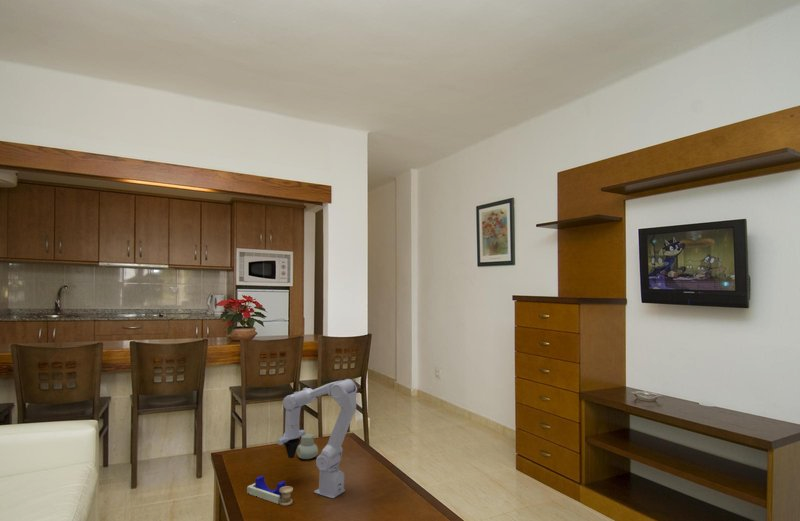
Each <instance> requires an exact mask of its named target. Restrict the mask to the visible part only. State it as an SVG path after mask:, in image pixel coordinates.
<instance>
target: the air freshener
mask: <svg viewBox="0 0 800 521" xmlns="http://www.w3.org/2000/svg"><path fill="white" fill-rule="evenodd" d="M300 437H301V439H300V443H299V445H298V447H297V449H296V455H297V457H298V458H300V459H302V460H311V459H313V458H315V457H317V455H319V448H318V445H317V444H316V443H315V435H314V434H312V433H305V435H304V436H303V435H302V436H300Z"/></svg>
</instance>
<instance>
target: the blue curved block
mask: <svg viewBox="0 0 800 521" xmlns="http://www.w3.org/2000/svg"><path fill="white" fill-rule="evenodd" d="M254 481H255V482H254V483H255V487H256V488H259V489H262V490H265V491H268V492H271V493H274V494H277V495H280V496H281V497H280V499H282V493H280V488H281V487H284V486H286V481H285V480H281V481H279V482H278V483H277V484H276V488H275V489H271V488H269V487H268V485H267V484H266V482H265V476H264V475H259V476H257V477H256V478H255V480H254Z"/></svg>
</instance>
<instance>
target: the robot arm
mask: <svg viewBox="0 0 800 521" xmlns="http://www.w3.org/2000/svg"><path fill="white" fill-rule="evenodd" d="M357 392H358V387H357V385H356V383H355V381H354V380H353V379H350V378H345V379H344V380H337V381H332V382H329V383H326V384H323V385H322V386H319V387H317V388H314V389H312V388H311V387H309V388H308V387H304V388H302V390H300V391H294V392H293V393H292V394H289V395H286V396H285V397H284V398H283V401H282V406H283V408H284V409H285V415H284V416H285V419H284V420H285V421H284V423H285V424H284V425H285V426H284V433H283V434H282V436H281V437H279V438H278V439H277V445H279V446H282V445H283V446H284V447H285V449H286V453H287V458H288V459H294V458H295V455H296V453H297V450H296V449H297V447H298V446H299V445H300V444H301V439H300V437H301V436H302V435H303V436H304V435H305V434H306V429H300V416H301V415H300V414H301V408H302V406H305V405H308V404H311V403H313V402H314V401H315V399H316V398H318V397H320V396H323V395H327V394H328V396H330V397H331V396H332V399H333V400H334V401H335V402H336V403H337V405H338V406H339V407H340V411H339V413H338V415H337V418H336V421H335V424H334V426H333V429H332V431H331V434H330V436H329V439H328V441H327V443H326V445H325V446H324V447H323V449H322V450H321V452H320V454H318V456H316V460H315V464H316V467H317V468H318V471H319V475H318V476H319V477H318V489H315V490H314V491H313V493H315V494H317V495H321V496H322V497H327V498H330V499H334V498H336V497H338V496H340V495H341V494H342V493H344V492H346V489H345V472H344V471H341V470H340V468H339V464H340V463H341V461H342V457H343V455H342V453H343V451H344V448H343V447H342V445H343V442H344V440H345V439H346V438H345V437H346V435H347V432H348V430H349V427H350V425H351V421H352V419H353V416H354V414H355V411H356V410H357Z"/></svg>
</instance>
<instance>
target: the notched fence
mask: <svg viewBox="0 0 800 521" xmlns="http://www.w3.org/2000/svg"><path fill="white" fill-rule="evenodd" d="M248 493H249V494H248ZM246 494H248V495H251V496H254V497H256V496H257V497H256V498H259V499H262V500H265V501H269V502H271V503H274V504H276V505H280V504H279V501H280V497H281V496H280V495H277V494H274V493H271V492H268V491H265V490H262V489H259V488H256V487H255V482H254V483H252V484H249V485H248V486H247V487H246Z"/></svg>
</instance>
